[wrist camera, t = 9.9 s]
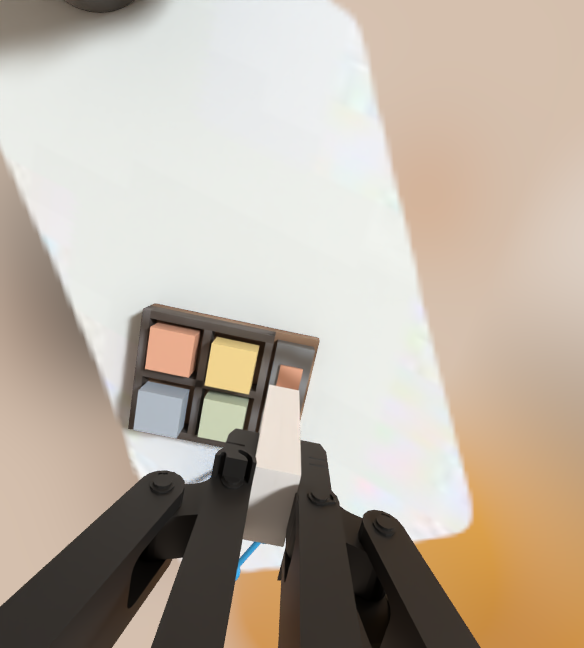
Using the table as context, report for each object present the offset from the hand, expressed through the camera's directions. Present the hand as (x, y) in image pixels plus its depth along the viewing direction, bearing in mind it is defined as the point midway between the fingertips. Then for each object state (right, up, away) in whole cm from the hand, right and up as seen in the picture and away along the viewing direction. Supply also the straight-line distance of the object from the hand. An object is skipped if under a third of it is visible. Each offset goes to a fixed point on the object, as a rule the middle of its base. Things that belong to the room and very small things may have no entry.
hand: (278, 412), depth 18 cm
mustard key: (-7, 0, +30) cm, 30 cm away
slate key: (-16, -6, +31) cm, 36 cm away
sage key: (-8, -8, +33) cm, 35 cm away
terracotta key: (-15, +1, +31) cm, 34 cm away
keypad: (-9, -3, +34) cm, 35 cm away
